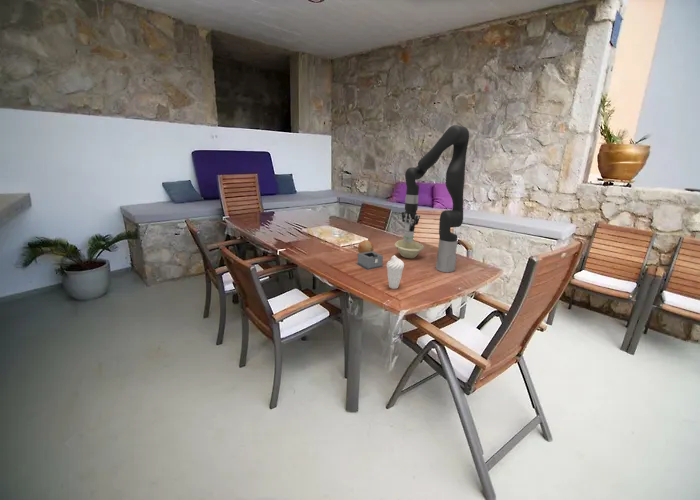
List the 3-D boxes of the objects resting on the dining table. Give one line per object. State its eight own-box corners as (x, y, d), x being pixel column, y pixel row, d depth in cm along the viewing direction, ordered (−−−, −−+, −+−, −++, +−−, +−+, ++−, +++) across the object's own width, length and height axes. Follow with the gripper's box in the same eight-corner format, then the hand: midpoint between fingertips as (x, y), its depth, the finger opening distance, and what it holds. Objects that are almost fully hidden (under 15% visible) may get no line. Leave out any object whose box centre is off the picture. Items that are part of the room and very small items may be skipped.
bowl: (405, 259, 207) (424, 246, 205) (407, 266, 190) (428, 252, 187) (392, 242, 206) (411, 228, 203) (393, 247, 188) (414, 233, 186)
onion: (368, 259, 191) (369, 243, 188) (354, 256, 196) (354, 240, 193) (376, 255, 199) (377, 240, 196) (362, 252, 204) (363, 237, 201)
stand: (384, 267, 177) (385, 253, 175) (367, 271, 171) (368, 257, 169) (372, 261, 187) (372, 248, 185) (355, 265, 181) (355, 251, 178)
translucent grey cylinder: (413, 242, 194) (415, 223, 191) (407, 243, 192) (409, 223, 188) (408, 240, 198) (410, 221, 194) (402, 241, 196) (404, 222, 192)
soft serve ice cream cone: (400, 283, 156) (403, 252, 152) (404, 290, 148) (406, 258, 144) (383, 283, 156) (385, 252, 151) (386, 290, 148) (388, 258, 143)
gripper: (425, 203, 184) (422, 232, 189) (408, 200, 195) (405, 227, 200) (415, 204, 180) (412, 233, 185) (398, 200, 191) (396, 228, 196)
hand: (409, 230), depth 193 cm, fingers closed on translucent grey cylinder, 4 cm apart
